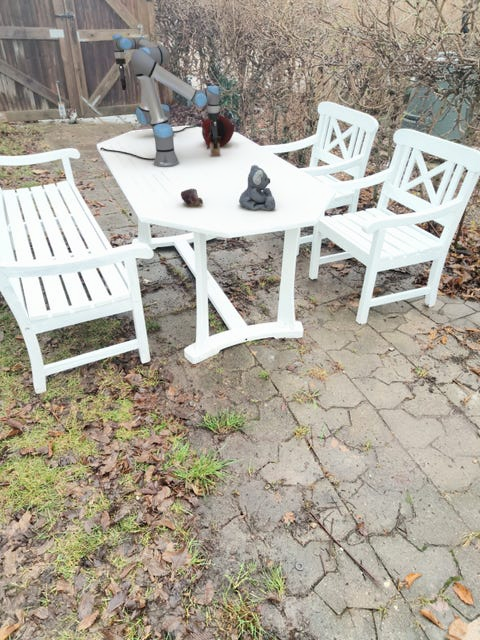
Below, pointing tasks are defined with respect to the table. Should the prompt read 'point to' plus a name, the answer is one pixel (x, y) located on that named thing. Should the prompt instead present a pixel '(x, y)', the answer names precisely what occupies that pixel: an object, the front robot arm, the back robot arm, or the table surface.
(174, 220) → the table surface
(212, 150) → the block
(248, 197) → the koala plush
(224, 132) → the dark red rounded piece
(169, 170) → the table surface
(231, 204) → the table surface
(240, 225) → the table surface
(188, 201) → the rock
